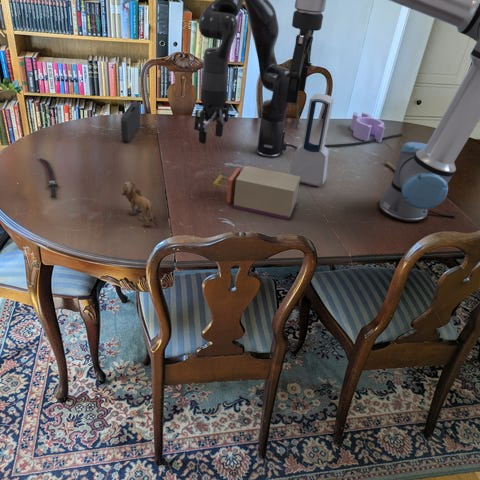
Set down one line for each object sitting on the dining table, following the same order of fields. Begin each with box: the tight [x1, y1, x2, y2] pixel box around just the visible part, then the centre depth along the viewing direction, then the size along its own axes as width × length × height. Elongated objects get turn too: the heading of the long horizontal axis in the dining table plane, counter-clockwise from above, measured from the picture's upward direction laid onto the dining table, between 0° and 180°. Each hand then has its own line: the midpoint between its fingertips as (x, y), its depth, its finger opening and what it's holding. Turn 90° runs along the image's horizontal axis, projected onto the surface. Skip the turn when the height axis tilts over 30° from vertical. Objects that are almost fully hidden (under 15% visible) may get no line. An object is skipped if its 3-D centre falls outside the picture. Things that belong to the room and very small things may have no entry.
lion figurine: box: [119, 181, 159, 227], centre depth 134 cm, size 15×5×9 cm, turn 50°
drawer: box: [212, 167, 242, 204], centre depth 147 cm, size 22×10×8 cm, turn 74°
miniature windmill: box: [285, 63, 300, 129], centre depth 209 cm, size 9×8×30 cm
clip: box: [349, 112, 386, 143], centre depth 214 cm, size 20×12×7 cm, turn 11°
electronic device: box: [288, 93, 335, 188], centre depth 159 cm, size 12×8×30 cm, turn 71°
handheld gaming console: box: [120, 101, 141, 143], centre depth 188 cm, size 23×3×10 cm, turn 178°
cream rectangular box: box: [232, 165, 300, 221], centre depth 146 cm, size 18×11×10 cm, turn 74°
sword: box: [40, 158, 59, 198], centre depth 151 cm, size 31×3×1 cm, turn 26°
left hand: (210, 139), depth 145 cm, fingers open, 8 cm apart
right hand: (295, 96), depth 129 cm, fingers open, 13 cm apart
